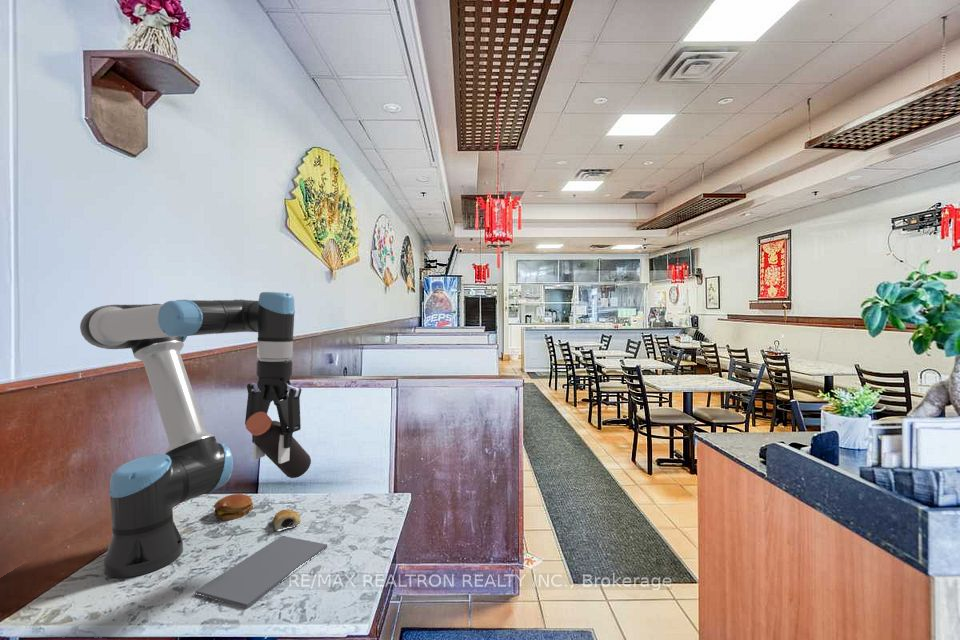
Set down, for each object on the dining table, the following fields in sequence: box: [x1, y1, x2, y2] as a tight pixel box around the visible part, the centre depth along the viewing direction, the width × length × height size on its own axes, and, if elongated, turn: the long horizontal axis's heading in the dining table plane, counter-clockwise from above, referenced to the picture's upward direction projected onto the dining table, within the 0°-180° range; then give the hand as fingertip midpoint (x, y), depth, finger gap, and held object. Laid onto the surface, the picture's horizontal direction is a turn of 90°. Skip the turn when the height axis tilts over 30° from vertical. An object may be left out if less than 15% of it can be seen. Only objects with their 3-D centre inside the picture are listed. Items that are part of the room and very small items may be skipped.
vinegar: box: [245, 412, 312, 479], centre depth 109 cm, size 7×7×20 cm
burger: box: [213, 493, 254, 521], centre depth 134 cm, size 10×9×5 cm
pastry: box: [272, 509, 301, 531], centre depth 127 cm, size 9×7×4 cm
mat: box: [195, 535, 328, 609], centre depth 105 cm, size 14×24×1 cm, turn 160°
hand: (271, 459), depth 107 cm, fingers closed on vinegar, 6 cm apart
